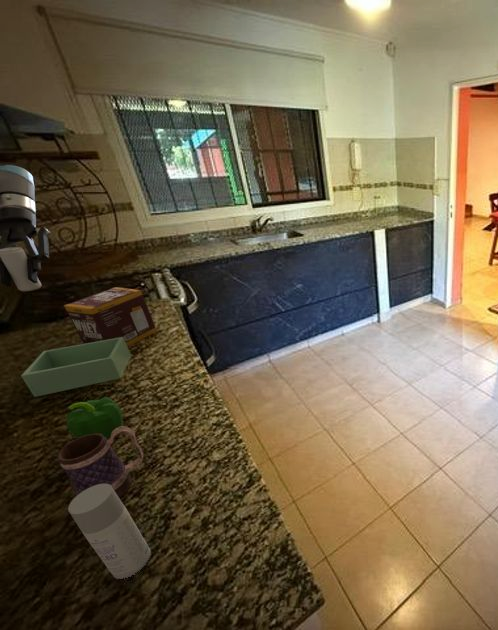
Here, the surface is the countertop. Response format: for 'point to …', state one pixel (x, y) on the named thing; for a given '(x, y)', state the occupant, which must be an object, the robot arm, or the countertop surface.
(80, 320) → the supplement box
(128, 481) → the mug
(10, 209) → the robot arm
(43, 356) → the basin
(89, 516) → the container
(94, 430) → the bell pepper
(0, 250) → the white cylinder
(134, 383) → the countertop surface
